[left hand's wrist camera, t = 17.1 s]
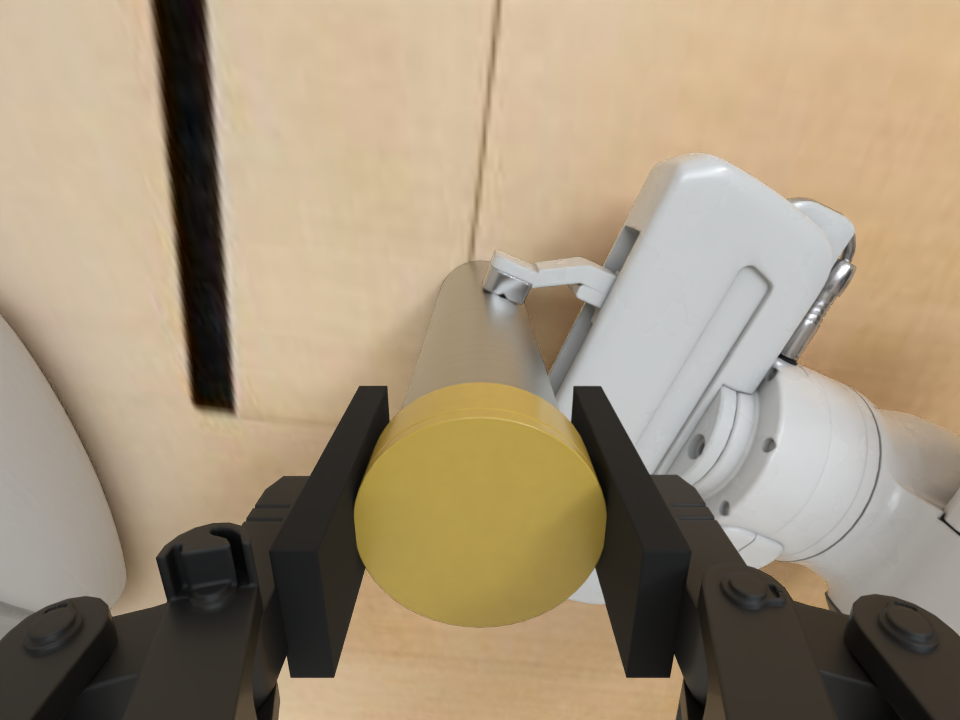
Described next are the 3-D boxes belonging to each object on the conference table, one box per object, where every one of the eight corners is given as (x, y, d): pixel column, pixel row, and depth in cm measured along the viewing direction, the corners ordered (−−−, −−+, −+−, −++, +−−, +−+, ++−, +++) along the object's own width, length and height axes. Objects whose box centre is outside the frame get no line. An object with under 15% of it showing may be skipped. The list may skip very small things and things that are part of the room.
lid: (503, 335, 11) (506, 364, 9) (633, 500, 12) (656, 550, 11) (322, 464, 12) (298, 511, 10) (461, 603, 13) (458, 663, 12)
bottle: (533, 324, 29) (613, 562, 12) (457, 352, 30) (425, 619, 12) (504, 247, 28) (545, 386, 10) (425, 278, 28) (336, 461, 11)
